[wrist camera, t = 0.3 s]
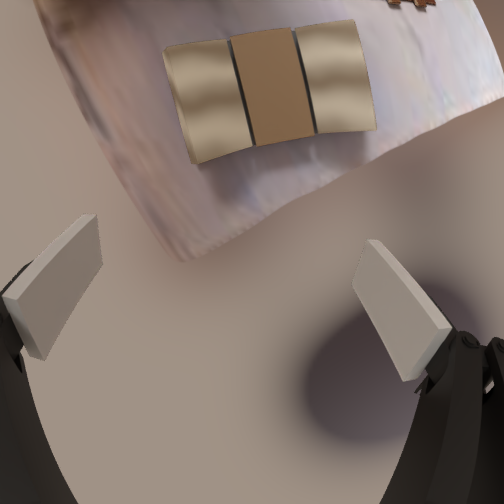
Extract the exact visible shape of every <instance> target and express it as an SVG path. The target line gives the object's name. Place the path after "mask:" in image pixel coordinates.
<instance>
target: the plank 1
mask: <svg viewBox="0 0 504 504" xmlns="http://www.w3.org/2000/svg"><path fill="white" fill-rule="evenodd" d="M162 55H163V60H164V64H165V68H166V72H167V75H168V79H169V83H170V87H171V91H172V95H173V99H174V102H175V106H176V110H177V114H178V117H179V121H180V125H181V128H182V132H183V135H184V139H185V143H186V146H187V150H188V153H189V157H190V160H191V164H200V163H203V162H206V161H209V160H211V159H214V158H217V157H220V156H223V155H226V154H229V153H232V152H235V151H238V150H242V149H245V148H248V147H251V146H253V145H252V141H251V137H250V133H249V129H248V124H247V120H246V116H245V112H244V108H243V104H242V100H241V96H240V91H239V87H238V83H237V79H236V76H235V72H234V68H233V64H232V60H231V56H230V52H229V48H228V45H227V41H226V39H220V40H210V41H202V42H194V43H187V44H181V45H175V46H170V47H167V48H166V49H165V50H164V51H163V52H162Z"/></svg>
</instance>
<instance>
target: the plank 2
mask: <svg viewBox="0 0 504 504" xmlns="http://www.w3.org/2000/svg"><path fill="white" fill-rule="evenodd" d="M295 32H296V36H297V39H298V43H299V47H300V51H301V55H302V59H303V63H304V67H305V71H306V75H307V80H308V84H309V89H310V93H311V98H312V103H313V108H314V113H315V118H316V123H317V129H318V134H321V133H334V132H351V131H376V130H377V125H376V118H375V111H374V104H373V98H372V93H371V87H370V82H369V77H368V72H367V67H366V63H365V58H364V54H363V50H362V46H361V42H360V38H359V34H358V31H357V27H356V24H355V22H354V20H353V19H352V20H343V21H335V22H328V23H321V24H315V25H310V26H304V27H299V28H295Z"/></svg>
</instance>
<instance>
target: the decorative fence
mask: <svg viewBox="0 0 504 504" xmlns="http://www.w3.org/2000/svg"><path fill="white" fill-rule="evenodd" d="M387 1H388V3H390V4H401V1H400V0H387ZM405 1H414V3H415V5H416V6H419V7H427V5H426V3H427V4H433V5H436V2H435V0H405Z"/></svg>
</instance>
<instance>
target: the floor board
mask: <svg viewBox="0 0 504 504" xmlns="http://www.w3.org/2000/svg"><path fill="white" fill-rule="evenodd" d="M227 45H228V48H229V52H230V56H231V60H232V64H233V68H234V72H235V76H236V79H237V83H238V87H239V91H240V96H241V100H242V104H243V108H244V112H245V116H246V120H247V124H248V129H249V133H250V137H251V141H252V145H256V146H257V147H258V146H263V145H268V144H273V143H278V142H283V141H288V140H294V139H299V138H305V137H311V136H315V134H316V133H318V129H317V123H316V118H315V113H314V108H313V103H312V98H311V93H310V89H309V84H308V80H307V75H306V71H305V67H304V63H303V59H302V55H301V51H300V47H299V43H298V39H297V36H296V32H295V31H291V29H290V28H281V29H273V30H265V31H258V32H252V33H246V34H241V35H236V36H231V37H230V41H227Z"/></svg>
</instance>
